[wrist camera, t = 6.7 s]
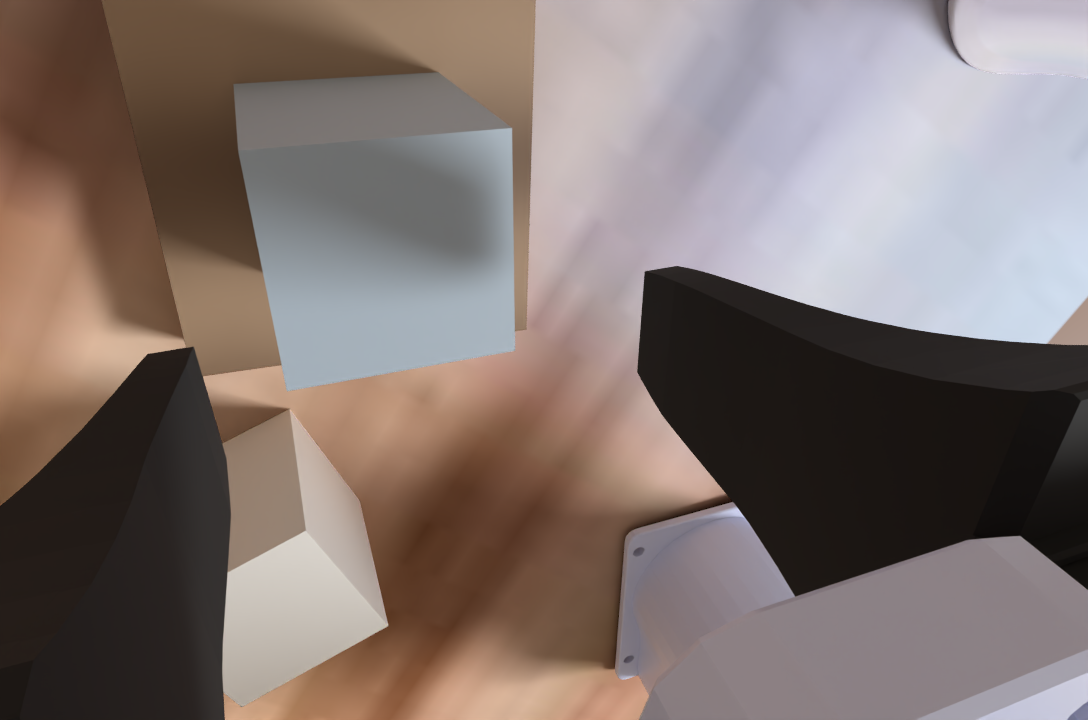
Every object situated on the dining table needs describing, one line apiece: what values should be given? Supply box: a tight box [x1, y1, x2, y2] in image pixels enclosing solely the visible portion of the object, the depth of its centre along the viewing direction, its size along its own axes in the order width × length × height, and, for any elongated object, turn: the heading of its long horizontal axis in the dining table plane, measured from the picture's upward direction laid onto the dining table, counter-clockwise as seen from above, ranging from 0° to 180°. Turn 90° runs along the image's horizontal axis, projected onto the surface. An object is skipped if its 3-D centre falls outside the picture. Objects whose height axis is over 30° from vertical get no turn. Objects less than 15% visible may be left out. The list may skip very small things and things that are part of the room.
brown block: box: [101, 0, 536, 376], centre depth 19 cm, size 9×9×2 cm
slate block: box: [233, 72, 515, 391], centre depth 16 cm, size 4×4×6 cm
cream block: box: [222, 409, 388, 707], centre depth 22 cm, size 4×4×6 cm
